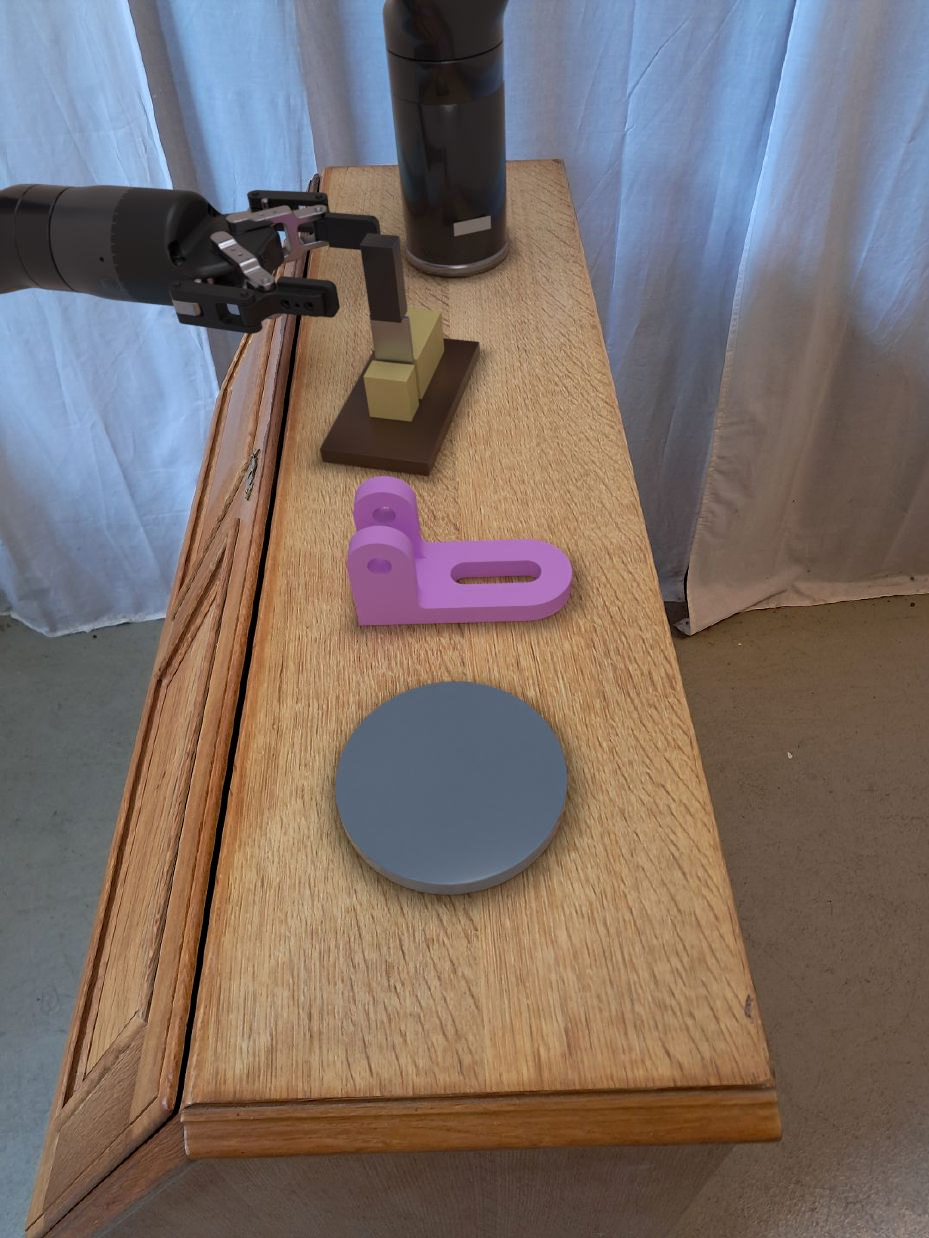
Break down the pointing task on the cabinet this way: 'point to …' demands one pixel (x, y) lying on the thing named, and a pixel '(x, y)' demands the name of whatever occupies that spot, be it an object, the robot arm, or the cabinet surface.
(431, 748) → the plate
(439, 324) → the butter
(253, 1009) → the cabinet surface
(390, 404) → the butter slice
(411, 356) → the knife
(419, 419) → the board
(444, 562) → the bracket
